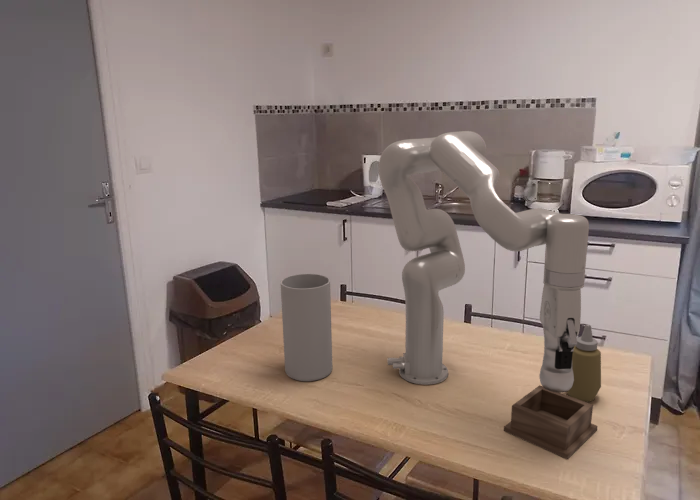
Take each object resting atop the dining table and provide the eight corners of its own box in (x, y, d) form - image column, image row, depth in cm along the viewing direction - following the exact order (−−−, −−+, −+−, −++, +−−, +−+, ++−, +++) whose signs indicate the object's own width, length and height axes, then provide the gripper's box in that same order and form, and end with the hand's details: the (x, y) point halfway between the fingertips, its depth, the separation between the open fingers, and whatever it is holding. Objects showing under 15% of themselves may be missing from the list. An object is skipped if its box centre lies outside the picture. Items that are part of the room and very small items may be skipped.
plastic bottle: (575, 398, 111) (583, 304, 106) (540, 395, 112) (546, 302, 107) (569, 382, 117) (577, 293, 112) (536, 380, 118) (542, 292, 113)
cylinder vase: (342, 369, 145) (340, 280, 139) (307, 387, 136) (303, 292, 130) (310, 356, 154) (306, 270, 147) (275, 372, 145) (270, 282, 138)
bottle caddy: (567, 459, 107) (570, 432, 106) (503, 430, 117) (505, 405, 116) (597, 429, 117) (599, 404, 115) (535, 405, 127) (537, 382, 125)
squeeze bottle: (596, 408, 125) (604, 335, 120) (559, 399, 129) (566, 328, 125) (602, 393, 132) (610, 323, 127) (566, 384, 136) (573, 316, 131)
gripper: (531, 265, 117) (526, 344, 121) (560, 291, 100) (553, 381, 105) (566, 264, 116) (560, 344, 121) (601, 290, 100) (593, 381, 104)
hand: (557, 360), depth 113 cm, fingers closed on plastic bottle, 5 cm apart
